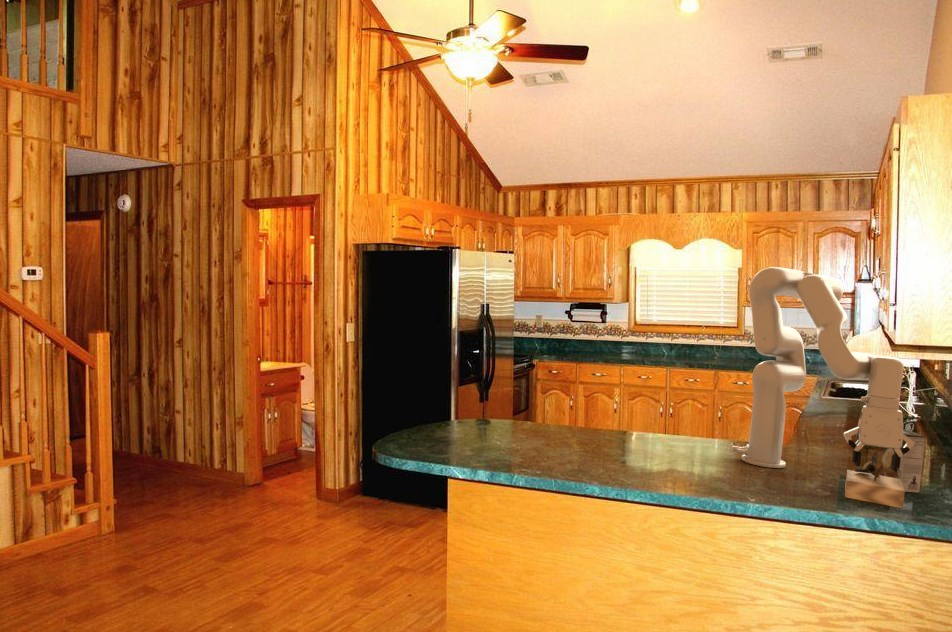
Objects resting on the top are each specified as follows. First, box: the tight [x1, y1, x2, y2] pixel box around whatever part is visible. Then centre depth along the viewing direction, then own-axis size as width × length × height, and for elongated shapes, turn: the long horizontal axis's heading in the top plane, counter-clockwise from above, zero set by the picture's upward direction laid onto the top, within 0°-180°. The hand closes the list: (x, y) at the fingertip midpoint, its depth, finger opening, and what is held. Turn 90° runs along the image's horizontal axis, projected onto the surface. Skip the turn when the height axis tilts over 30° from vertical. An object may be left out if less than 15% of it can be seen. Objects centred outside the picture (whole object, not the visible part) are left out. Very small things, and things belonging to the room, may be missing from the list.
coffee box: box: [880, 428, 927, 493], centre depth 200 cm, size 9×6×16 cm
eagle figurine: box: [854, 451, 892, 481], centre depth 190 cm, size 8×7×9 cm
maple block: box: [844, 469, 906, 509], centre depth 188 cm, size 13×15×5 cm
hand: (875, 467), depth 188 cm, fingers open, 8 cm apart
